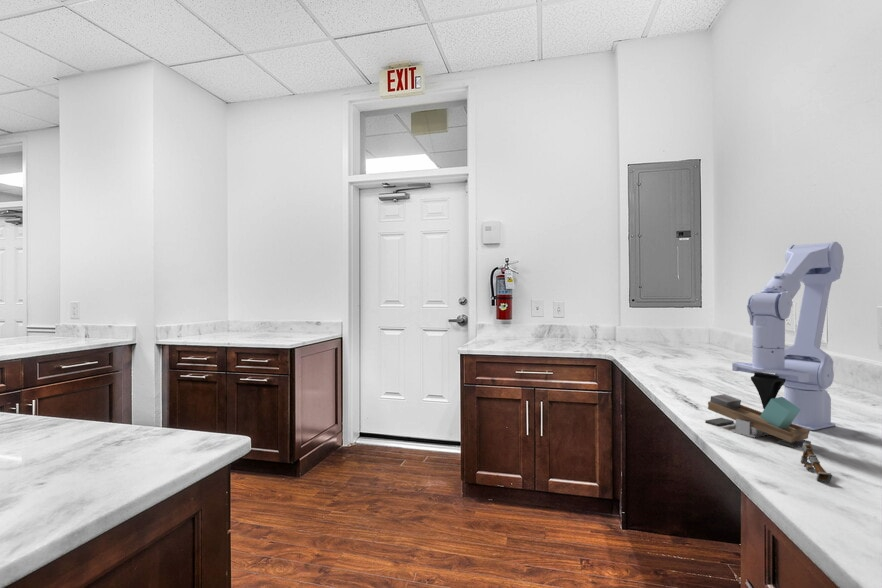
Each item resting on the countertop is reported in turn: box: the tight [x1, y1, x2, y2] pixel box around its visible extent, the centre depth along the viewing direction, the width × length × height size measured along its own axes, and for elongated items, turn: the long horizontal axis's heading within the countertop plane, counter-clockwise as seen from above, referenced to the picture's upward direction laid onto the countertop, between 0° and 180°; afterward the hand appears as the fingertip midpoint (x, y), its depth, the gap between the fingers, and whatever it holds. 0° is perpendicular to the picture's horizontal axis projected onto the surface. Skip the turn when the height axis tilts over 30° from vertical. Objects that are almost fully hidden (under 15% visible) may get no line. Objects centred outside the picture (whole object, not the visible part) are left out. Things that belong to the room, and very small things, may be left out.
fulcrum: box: [705, 417, 812, 449], centre depth 100 cm, size 8×19×3 cm, turn 24°
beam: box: [707, 393, 811, 442], centre depth 100 cm, size 6×18×4 cm, turn 23°
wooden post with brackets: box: [800, 443, 833, 483], centre depth 78 cm, size 2×8×4 cm, turn 162°
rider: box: [760, 396, 801, 429], centre depth 95 cm, size 4×4×5 cm
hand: (767, 408), depth 97 cm, fingers closed, pressing on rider
